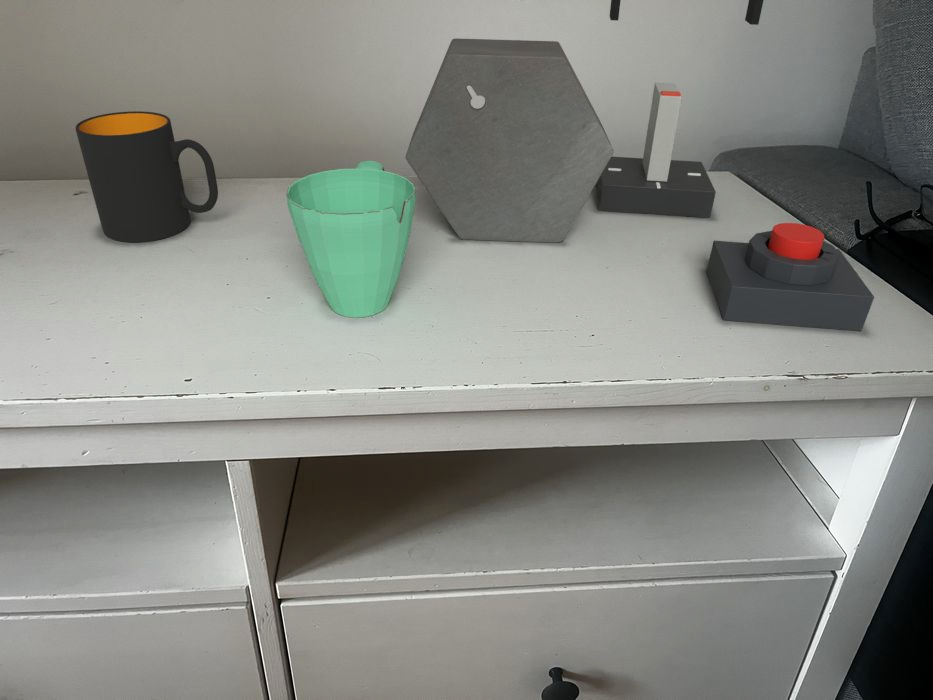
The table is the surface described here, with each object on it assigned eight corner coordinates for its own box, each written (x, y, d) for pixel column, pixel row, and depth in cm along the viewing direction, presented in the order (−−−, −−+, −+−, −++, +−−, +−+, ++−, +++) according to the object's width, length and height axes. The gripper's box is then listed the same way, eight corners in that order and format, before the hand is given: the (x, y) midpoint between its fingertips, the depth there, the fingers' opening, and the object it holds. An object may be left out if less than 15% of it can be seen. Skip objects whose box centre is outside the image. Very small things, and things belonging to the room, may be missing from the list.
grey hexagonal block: (627, 172, 76) (530, -14, 66) (639, 199, 69) (533, -3, 60) (488, 249, 81) (381, 87, 72) (488, 281, 74) (370, 107, 65)
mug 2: (411, 335, 56) (408, 216, 51) (287, 331, 57) (271, 211, 51) (427, 255, 69) (426, 151, 63) (324, 251, 69) (315, 148, 64)
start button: (810, 243, 62) (816, 224, 61) (824, 263, 58) (831, 243, 58) (763, 240, 62) (768, 221, 61) (773, 260, 59) (779, 240, 58)
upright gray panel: (642, 163, 84) (655, 80, 79) (661, 164, 84) (675, 81, 79) (646, 180, 79) (660, 93, 74) (667, 181, 79) (682, 94, 74)
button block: (828, 280, 66) (845, 230, 63) (861, 331, 59) (882, 276, 56) (706, 272, 67) (717, 221, 64) (723, 320, 60) (737, 266, 57)
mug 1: (210, 245, 70) (190, 138, 64) (87, 241, 70) (57, 134, 64) (236, 212, 76) (220, 113, 71) (125, 208, 77) (100, 109, 71)
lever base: (696, 185, 87) (701, 160, 85) (710, 218, 78) (716, 190, 76) (596, 179, 88) (599, 154, 86) (598, 211, 79) (602, 183, 77)
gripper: (577, -259, 59) (557, 22, 71) (896, -261, 57) (821, 30, 68) (576, -245, 65) (558, 11, 77) (863, -246, 63) (800, 18, 75)
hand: (681, 20), depth 73 cm, fingers open, 13 cm apart
